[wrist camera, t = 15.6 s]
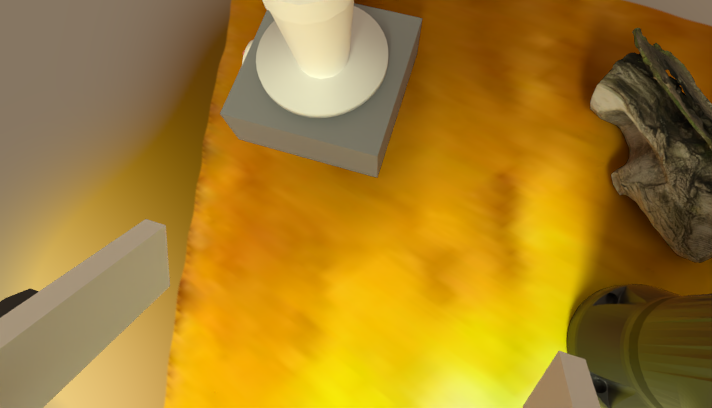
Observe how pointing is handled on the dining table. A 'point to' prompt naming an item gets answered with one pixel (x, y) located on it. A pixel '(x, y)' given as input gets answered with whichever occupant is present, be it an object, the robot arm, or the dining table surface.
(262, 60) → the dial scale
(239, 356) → the dining table surface
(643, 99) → the weathered wood log
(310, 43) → the foam cup
